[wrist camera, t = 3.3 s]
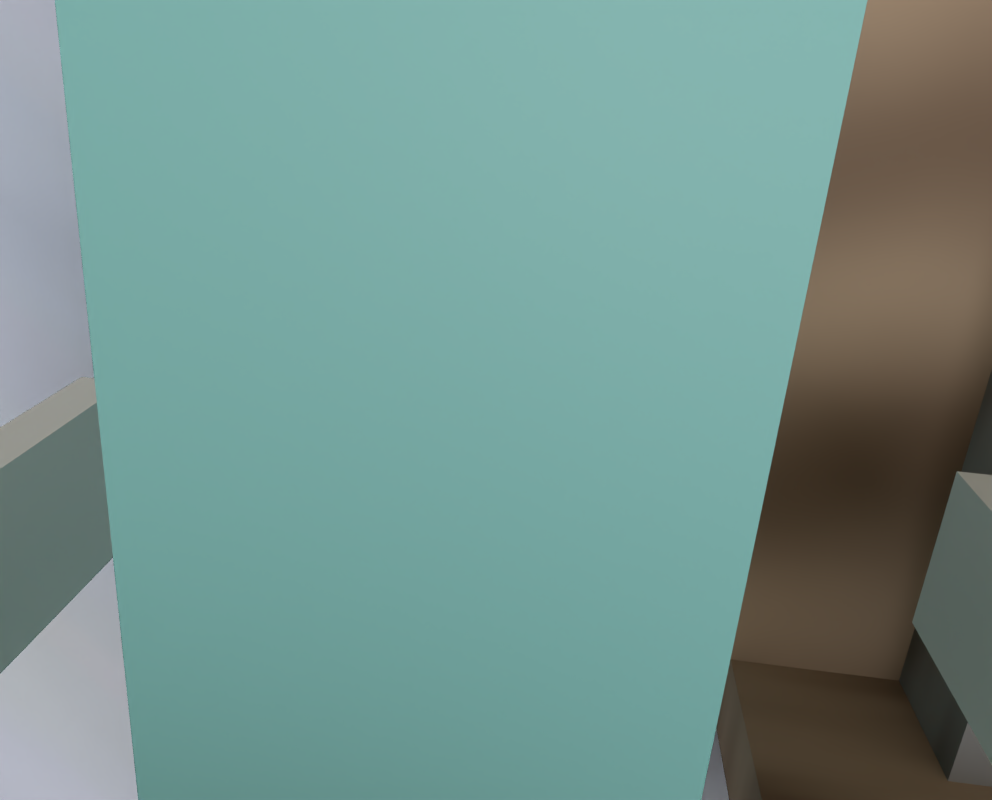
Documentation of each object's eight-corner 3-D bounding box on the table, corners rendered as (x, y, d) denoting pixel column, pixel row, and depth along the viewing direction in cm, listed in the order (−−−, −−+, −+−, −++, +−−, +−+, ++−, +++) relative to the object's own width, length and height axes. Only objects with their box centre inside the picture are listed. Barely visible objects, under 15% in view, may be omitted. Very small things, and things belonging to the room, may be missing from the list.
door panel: (560, 665, 23) (493, 1797, 8) (469, 653, 23) (236, 1741, 8) (642, -14, 17) (971, -526, 2) (518, -22, 17) (-3, -554, 2)
